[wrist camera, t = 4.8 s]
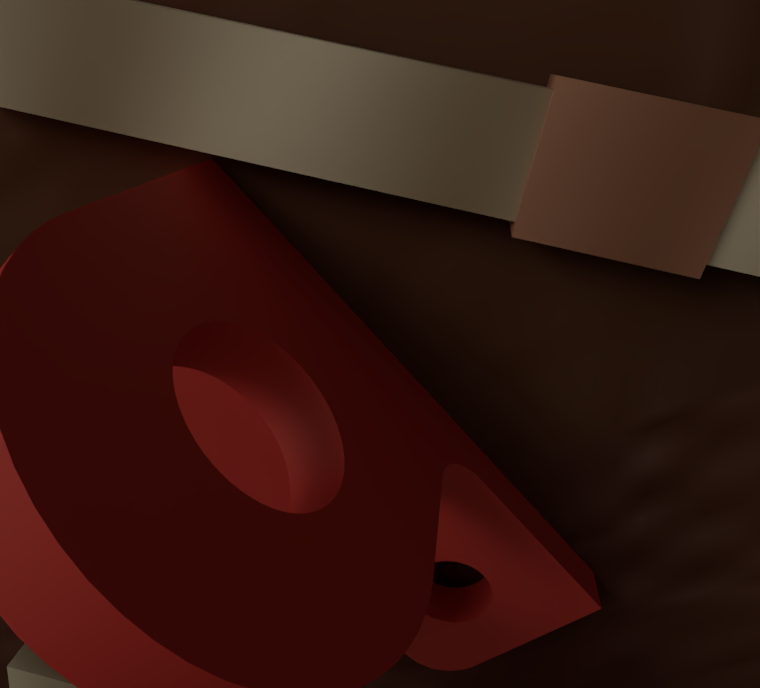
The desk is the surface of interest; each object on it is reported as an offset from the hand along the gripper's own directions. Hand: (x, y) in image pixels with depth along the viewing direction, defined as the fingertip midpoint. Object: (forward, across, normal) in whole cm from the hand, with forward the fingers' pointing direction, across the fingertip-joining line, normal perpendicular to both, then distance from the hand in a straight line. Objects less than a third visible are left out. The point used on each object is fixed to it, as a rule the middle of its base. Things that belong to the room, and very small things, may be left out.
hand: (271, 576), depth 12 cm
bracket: (+3, -1, -2) cm, 3 cm away
